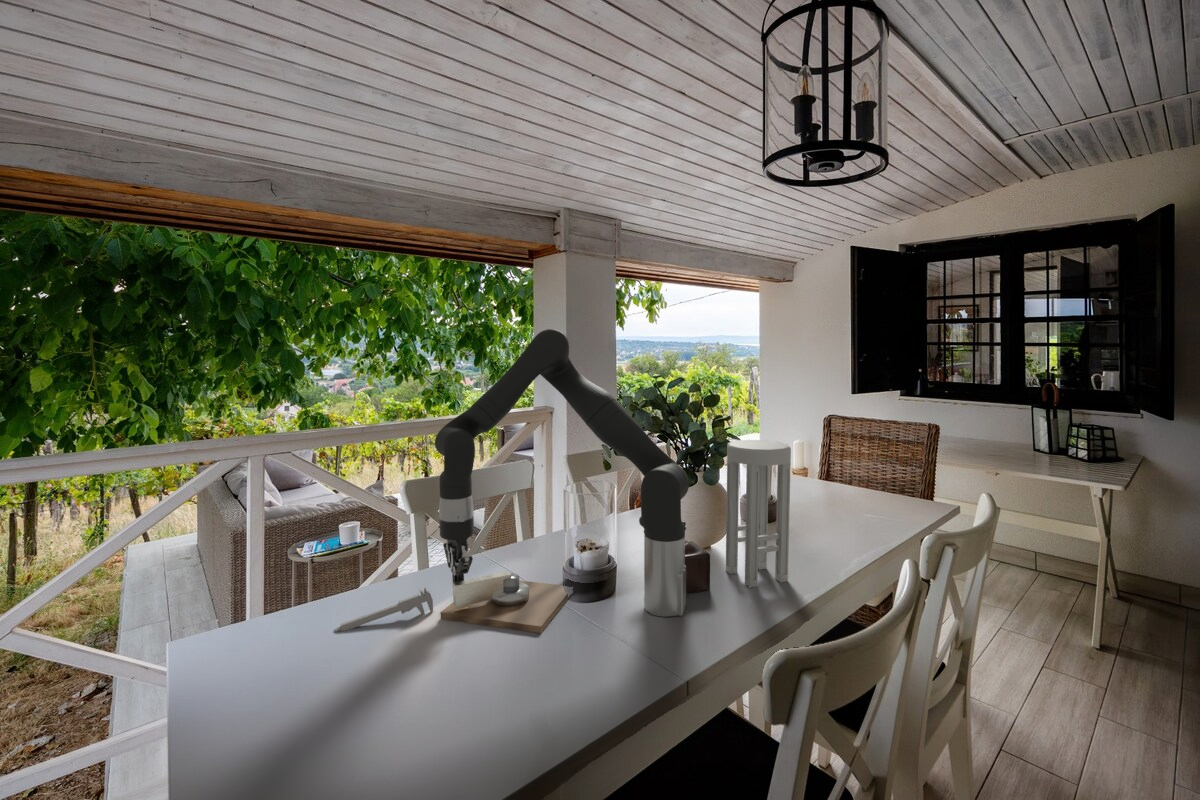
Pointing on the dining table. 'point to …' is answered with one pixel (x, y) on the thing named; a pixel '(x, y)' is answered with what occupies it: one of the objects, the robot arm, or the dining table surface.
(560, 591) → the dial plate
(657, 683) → the dining table surface
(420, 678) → the dining table surface
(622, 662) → the dining table surface
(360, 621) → the caliper
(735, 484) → the stool
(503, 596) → the beige bar and knob
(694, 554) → the dark brown wooden box
